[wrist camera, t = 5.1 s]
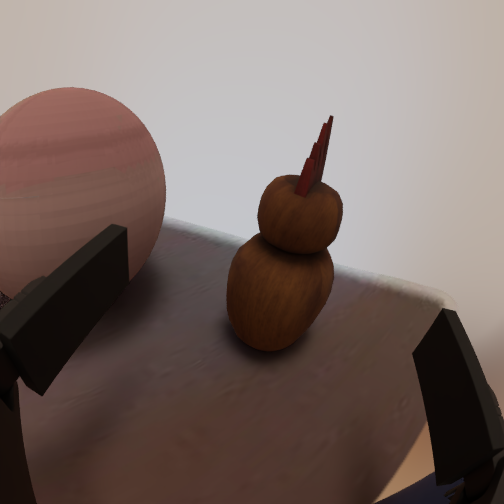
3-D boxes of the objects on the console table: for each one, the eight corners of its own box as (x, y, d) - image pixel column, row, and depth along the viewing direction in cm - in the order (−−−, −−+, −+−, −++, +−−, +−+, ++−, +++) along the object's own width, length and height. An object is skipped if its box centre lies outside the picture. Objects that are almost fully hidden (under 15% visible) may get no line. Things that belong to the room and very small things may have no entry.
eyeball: (-9, 261, 20) (-28, 101, 12) (121, 227, 30) (129, 83, 22) (6, 388, 12) (-82, 123, 4) (199, 315, 21) (231, 94, 14)
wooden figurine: (267, 293, 25) (315, 110, 18) (321, 333, 22) (397, 137, 14) (203, 325, 21) (239, 96, 13) (262, 380, 17) (344, 122, 10)
